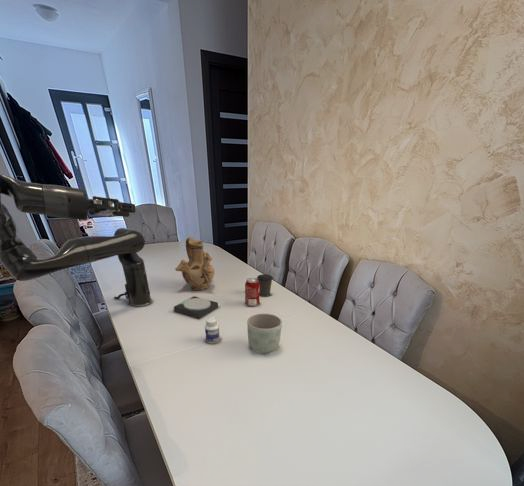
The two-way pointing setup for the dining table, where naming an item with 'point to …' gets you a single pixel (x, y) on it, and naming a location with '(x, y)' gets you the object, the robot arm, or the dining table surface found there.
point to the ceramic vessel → (196, 265)
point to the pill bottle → (212, 330)
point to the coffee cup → (265, 284)
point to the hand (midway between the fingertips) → (131, 210)
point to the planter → (264, 332)
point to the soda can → (252, 292)
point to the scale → (196, 307)
